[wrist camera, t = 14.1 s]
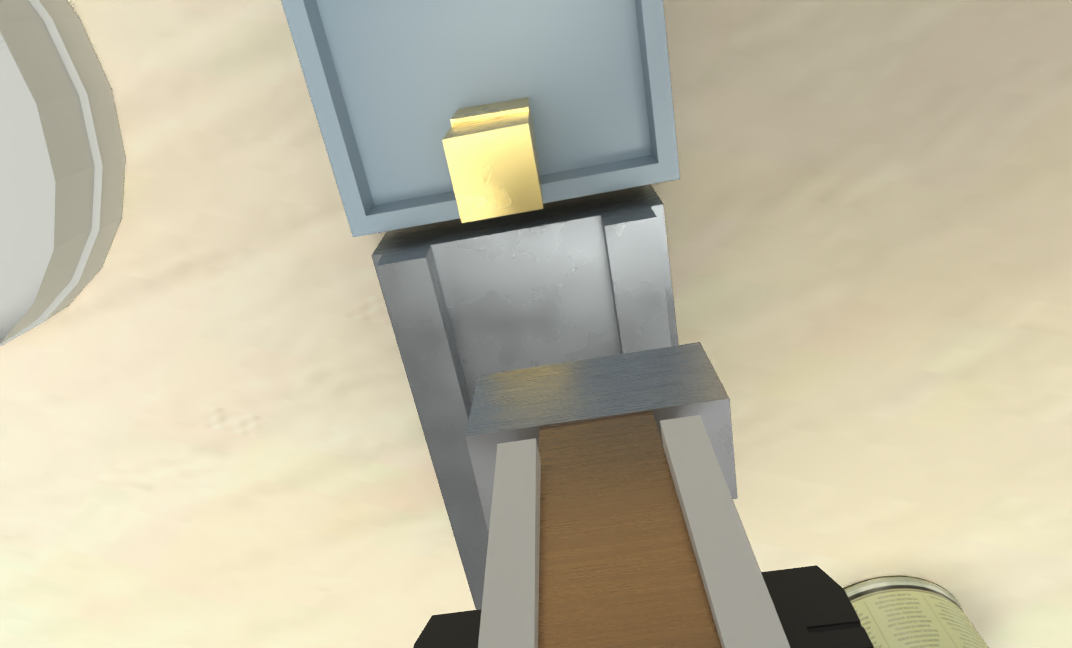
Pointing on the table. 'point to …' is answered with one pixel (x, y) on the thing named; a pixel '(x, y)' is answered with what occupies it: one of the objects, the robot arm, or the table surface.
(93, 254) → the dish
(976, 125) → the table surface
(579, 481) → the hammer
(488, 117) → the yellow wooden cube
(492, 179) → the yellow cube
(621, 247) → the slot bed
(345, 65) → the tray
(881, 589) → the coffee can
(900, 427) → the table surface
